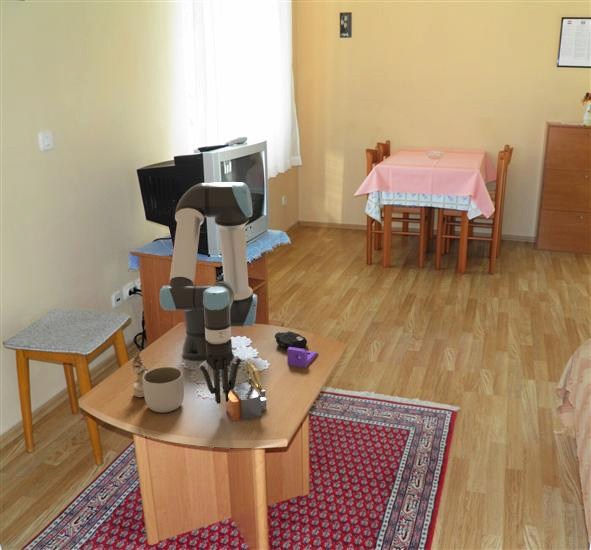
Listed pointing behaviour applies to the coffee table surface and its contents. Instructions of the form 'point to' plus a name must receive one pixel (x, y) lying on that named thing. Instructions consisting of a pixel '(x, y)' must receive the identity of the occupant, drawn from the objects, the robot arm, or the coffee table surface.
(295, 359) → the bracket
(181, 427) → the coffee table surface
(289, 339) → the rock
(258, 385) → the keeper
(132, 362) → the figurine
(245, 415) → the block
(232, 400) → the orange drawer
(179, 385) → the planter
